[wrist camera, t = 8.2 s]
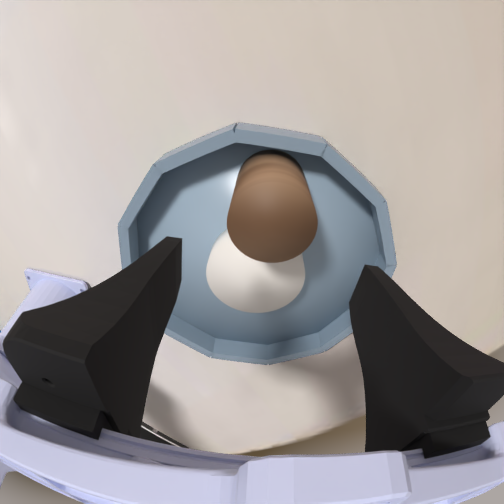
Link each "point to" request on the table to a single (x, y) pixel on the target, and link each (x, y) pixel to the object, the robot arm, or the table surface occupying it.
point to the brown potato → (271, 208)
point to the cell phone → (157, 436)
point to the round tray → (247, 269)
